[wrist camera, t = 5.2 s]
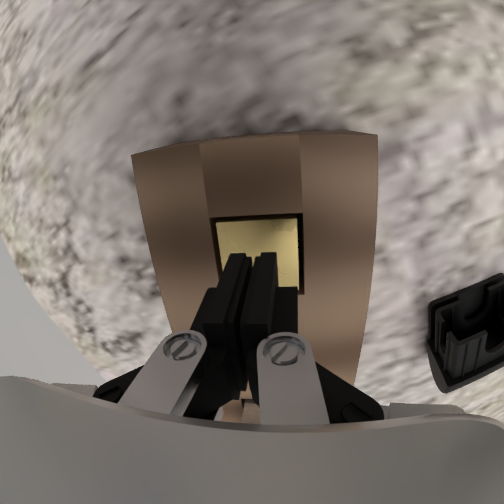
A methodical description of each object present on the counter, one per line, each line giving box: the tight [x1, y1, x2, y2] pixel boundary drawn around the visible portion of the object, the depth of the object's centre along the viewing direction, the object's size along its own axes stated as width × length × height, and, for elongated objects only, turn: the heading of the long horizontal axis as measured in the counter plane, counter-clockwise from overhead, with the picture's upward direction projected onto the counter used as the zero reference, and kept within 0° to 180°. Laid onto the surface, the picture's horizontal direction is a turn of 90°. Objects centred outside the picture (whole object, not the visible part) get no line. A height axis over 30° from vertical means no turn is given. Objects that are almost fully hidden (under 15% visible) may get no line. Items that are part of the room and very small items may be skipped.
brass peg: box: [216, 213, 299, 290], centre depth 18 cm, size 4×4×6 cm
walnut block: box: [131, 131, 378, 423], centre depth 21 cm, size 26×12×6 cm, turn 5°
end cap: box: [427, 273, 504, 393], centre depth 19 cm, size 10×7×7 cm
